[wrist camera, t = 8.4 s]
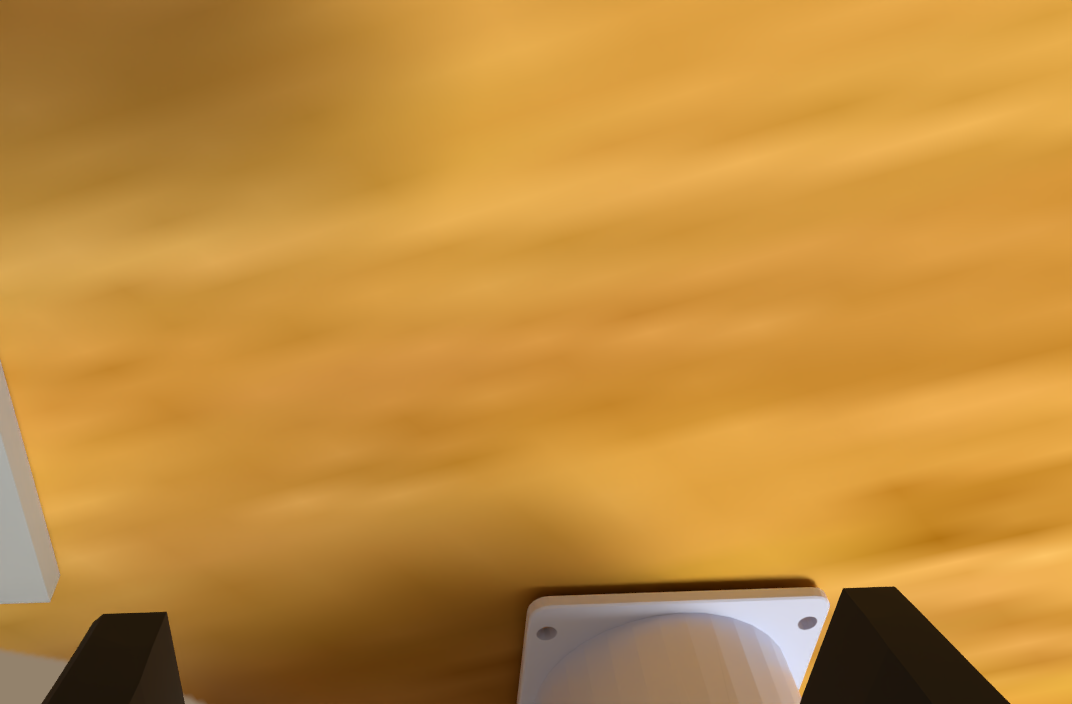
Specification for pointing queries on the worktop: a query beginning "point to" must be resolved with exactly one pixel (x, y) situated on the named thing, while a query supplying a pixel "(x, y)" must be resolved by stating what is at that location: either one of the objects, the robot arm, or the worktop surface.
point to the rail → (21, 519)
